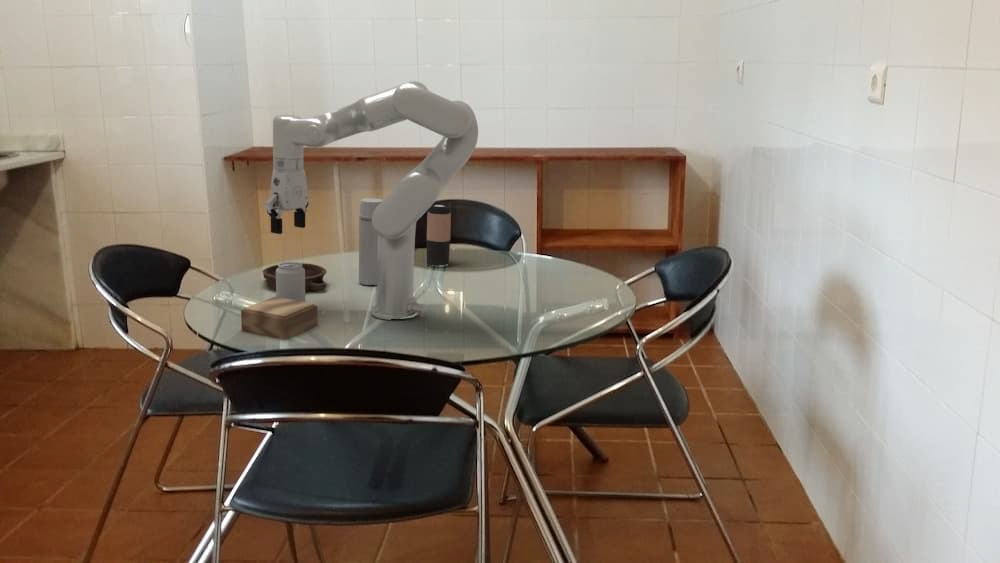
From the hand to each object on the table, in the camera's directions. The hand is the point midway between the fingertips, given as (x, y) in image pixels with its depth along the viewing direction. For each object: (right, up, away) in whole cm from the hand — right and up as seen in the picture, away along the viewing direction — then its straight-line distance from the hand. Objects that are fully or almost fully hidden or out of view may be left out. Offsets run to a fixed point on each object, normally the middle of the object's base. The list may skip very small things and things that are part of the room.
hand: (288, 230), depth 225 cm
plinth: (+1, -25, -11) cm, 27 cm away
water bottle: (+17, -14, +33) cm, 40 cm away
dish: (-4, -15, +26) cm, 30 cm away
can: (-1, -21, +6) cm, 21 cm away
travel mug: (+35, -8, +57) cm, 68 cm away
